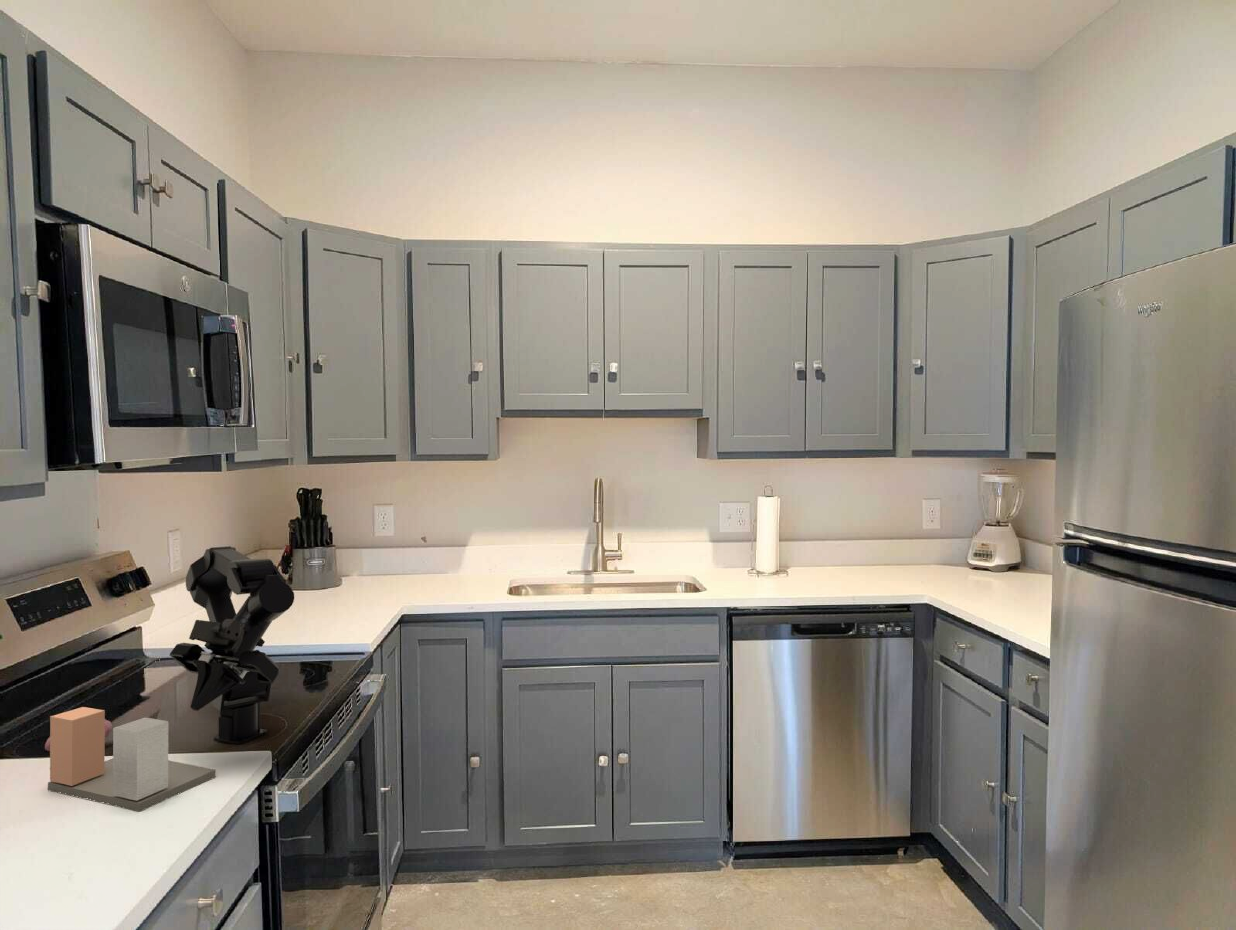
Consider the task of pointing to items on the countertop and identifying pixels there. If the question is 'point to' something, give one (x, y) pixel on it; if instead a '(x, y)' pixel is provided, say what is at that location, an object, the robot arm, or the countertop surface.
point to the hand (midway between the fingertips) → (193, 709)
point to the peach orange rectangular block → (77, 745)
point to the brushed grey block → (140, 758)
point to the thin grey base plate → (178, 781)
